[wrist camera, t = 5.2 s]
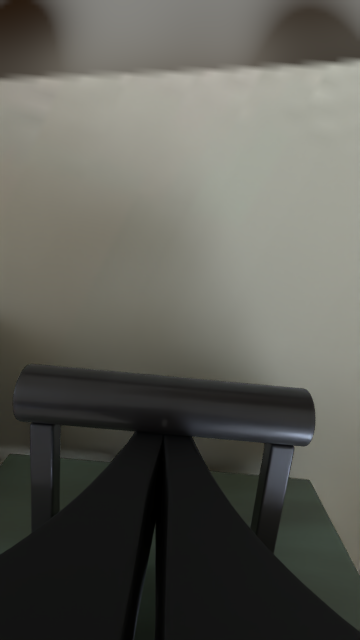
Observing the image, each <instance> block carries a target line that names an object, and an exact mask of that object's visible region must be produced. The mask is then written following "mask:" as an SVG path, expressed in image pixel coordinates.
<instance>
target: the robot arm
mask: <svg viewBox="0 0 360 640" xmlns="http://www.w3.org/2000/svg"><path fill="white" fill-rule="evenodd" d="M155 523H156V531H155V639H154V640H360V631H358V630H357V629H356V628H355V627H353V626H352V625H351V624H349V623H348V622H347V621H346V620H344V619H343V618H342V617H341V616H340V615H338V614H337V613H336V612H335V611H334V610H333V609H331V608H330V607H329V606H328V605H327V604H326V603H325V602H324V601H322V600H321V599H320V598H319V597H318V596H317V595H316V594H315V593H313V592H312V591H311V590H310V589H309V588H308V587H307V586H305V585H304V584H303V583H302V582H301V581H300V580H299V579H298V578H297V577H296V576H295V575H294V574H293V573H292V572H291V571H290V570H289V569H288V568H287V567H286V566H285V565H284V564H283V563H282V562H281V561H280V560H279V559H278V558H277V557H276V556H275V555H274V554H273V553H272V552H271V551H270V550H269V549H268V548H267V547H266V546H265V545H264V544H263V542H262V541H261V540H260V539H259V538H258V537H257V536H256V535H255V533H254V532H253V531H252V530H251V529H250V527H249V526H248V525H247V524H246V522H245V521H244V520H243V519H242V518H241V516H240V515H239V514H238V512H237V511H236V510H235V508H234V507H233V506H232V504H231V503H230V502H229V500H228V499H227V497H226V496H225V494H224V493H223V491H222V490H221V488H220V487H219V485H218V484H217V482H216V481H215V479H214V477H213V476H212V474H211V472H210V471H209V469H208V467H207V466H206V464H205V462H204V460H203V458H202V457H201V455H200V453H199V451H198V449H197V447H196V445H195V442H194V440H193V438H192V436H181V435H170V434H158V433H147V432H136V431H135V433H134V434H133V436H132V437H131V438H130V440H129V441H128V442H127V444H126V445H125V446H124V448H123V449H122V450H121V451H120V452H119V453H118V455H117V456H116V457H115V458H114V459H113V461H112V462H111V463H110V464H109V465H108V466H107V467H106V468H105V469H104V470H103V471H102V472H101V473H100V474H99V475H98V477H97V478H96V479H95V480H94V481H93V482H92V483H91V484H90V485H89V486H88V487H87V488H86V489H84V490H83V491H82V492H81V493H80V494H79V495H78V496H77V497H76V498H75V499H74V500H72V501H71V502H70V503H69V504H68V505H67V506H65V507H64V508H63V509H62V510H61V511H59V512H58V513H57V514H56V515H54V516H53V517H52V518H51V519H49V520H48V521H47V522H45V523H44V524H43V525H41V526H40V527H39V528H38V529H36V530H35V531H34V532H32V533H31V534H30V535H28V536H27V537H25V538H24V539H23V540H21V541H20V542H18V543H17V544H15V545H14V546H12V547H11V548H9V549H8V550H6V551H5V552H3V553H2V554H0V640H134V636H135V630H136V623H137V617H138V611H139V606H140V601H141V596H142V591H143V585H144V580H145V575H146V570H147V565H148V559H149V554H150V549H151V544H152V539H153V533H154V528H155Z"/></svg>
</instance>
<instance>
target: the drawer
mask: <svg viewBox="0 0 360 640" xmlns="http://www.w3.org/2000/svg"><path fill="white" fill-rule="evenodd" d="M13 411H14V415H15V417H16V419H17V420H19V421H22V422H32V423H31V425H30V455H19V454H10V455H9V456H8V457H7V458H6V459H5V461H4V462H3V463H2V464H1V466H0V554H2V553H3V552H5V551H6V550H8V549H9V548H11V547H12V546H14V545H15V544H17V543H18V542H20V541H21V540H23V539H24V538H25V537H27V536H28V535H30V534H31V533H32V532H34V531H35V530H36V529H38V528H39V527H40V526H41V525H43V524H44V523H45V522H47V521H48V520H49V519H51V518H52V517H53V516H54V515H56V514H57V513H58V512H59V511H61V510H62V509H63V508H64V507H65V506H67V505H68V504H69V503H70V502H71V501H72V500H74V499H75V498H76V497H77V496H78V495H79V494H80V493H81V492H82V491H83V490H84V489H86V488H87V487H88V486H89V485H90V484H91V483H92V482H93V481H94V480H95V479H96V478H97V477H98V475H99V474H100V473H101V472H102V471H103V470H104V469H105V468H106V467H107V466H108V465H109V464H110V463H111V462H99V461H88V460H76V459H65V458H60V436H61V425H68V426H79V427H90V428H102V429H113V430H124V431H136V432H147V433H158V434H170V435H181V436H192V437H203V438H215V439H226V440H237V441H249V442H260V443H265V445H264V451H263V457H262V463H261V468H260V474H259V475H249V474H237V473H226V472H214V471H210V472H211V474H212V476H213V477H214V479H215V481H216V482H217V484H218V485H219V487H220V488H221V490H222V491H223V493H224V494H225V496H226V497H227V499H228V500H229V502H230V503H231V504H232V506H233V507H234V508H235V510H236V511H237V512H238V514H239V515H240V516H241V518H242V519H243V520H244V521H245V522H246V524H247V525H248V526H249V527H250V529H251V530H252V531H253V532H254V533H255V535H256V536H257V537H258V538H259V539H260V540H261V541H262V542H263V544H264V545H265V546H266V547H267V548H268V549H269V550H270V551H271V552H272V553H273V554H274V555H275V556H276V557H277V558H278V559H279V560H280V561H281V562H282V563H283V564H284V565H285V566H286V567H287V568H288V569H289V570H290V571H291V572H292V573H293V574H294V575H295V576H296V577H297V578H298V579H299V580H300V581H301V582H302V583H303V584H304V585H305V586H307V587H308V588H309V589H310V590H311V591H312V592H313V593H315V594H316V595H317V596H318V597H319V598H320V599H321V600H322V601H324V602H325V603H326V604H327V605H328V606H329V607H330V608H331V609H333V610H334V611H335V612H336V613H337V614H338V615H340V616H341V617H342V618H343V619H344V620H346V621H347V622H348V623H349V624H351V625H352V626H353V627H355V628H356V629H357V630H358V631H360V575H359V573H358V571H357V569H356V568H355V566H354V564H353V562H352V560H351V558H350V556H349V554H348V552H347V550H346V548H345V547H344V545H343V543H342V541H341V539H340V537H339V535H338V533H337V531H336V529H335V528H334V526H333V524H332V522H331V520H330V518H329V516H328V514H327V512H326V510H325V508H324V507H323V505H322V503H321V501H320V499H319V497H318V495H317V493H316V491H315V489H314V487H313V486H312V484H311V482H310V480H306V479H295V478H289V474H290V468H291V463H292V458H293V453H294V446H307V445H308V444H309V443H310V442H311V440H312V438H313V435H314V430H315V407H314V402H313V399H312V396H311V394H310V393H309V392H308V391H307V390H306V389H303V388H293V387H282V386H270V385H259V384H248V383H237V382H226V381H215V380H204V379H193V378H182V377H171V376H160V375H149V374H138V373H127V372H116V371H105V370H94V369H83V368H72V367H61V366H50V365H39V364H29V365H27V366H26V367H25V368H24V369H23V370H22V372H21V373H20V375H19V377H18V380H17V382H16V386H15V390H14V395H13ZM293 445H294V446H293ZM155 531H156V523H155V528H154V533H153V539H152V544H151V549H150V554H149V559H148V565H147V570H146V575H145V580H144V585H143V591H142V596H141V601H140V606H139V611H138V617H137V623H136V630H135V636H134V640H154V639H155Z"/></svg>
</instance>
